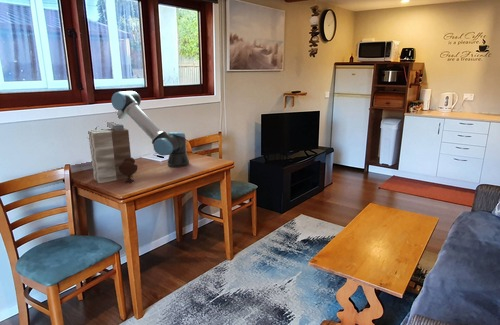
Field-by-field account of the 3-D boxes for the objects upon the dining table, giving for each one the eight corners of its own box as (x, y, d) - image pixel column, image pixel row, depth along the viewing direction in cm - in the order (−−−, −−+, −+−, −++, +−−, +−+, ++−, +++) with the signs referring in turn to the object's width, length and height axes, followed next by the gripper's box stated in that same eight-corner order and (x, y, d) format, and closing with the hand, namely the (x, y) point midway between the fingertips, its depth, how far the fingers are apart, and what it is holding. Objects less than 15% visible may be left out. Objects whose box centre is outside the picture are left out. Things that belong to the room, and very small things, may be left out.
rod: (105, 127, 219) (105, 122, 218) (113, 126, 222) (113, 121, 221) (115, 131, 204) (114, 126, 203) (123, 130, 207) (123, 125, 206)
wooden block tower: (94, 178, 213) (88, 130, 205) (126, 172, 225) (121, 127, 217) (99, 183, 204) (93, 133, 196) (132, 177, 216) (128, 129, 208)
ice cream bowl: (122, 179, 211) (119, 155, 207) (140, 178, 212) (138, 155, 208) (117, 184, 201) (114, 160, 197) (136, 184, 202) (134, 159, 198)
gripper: (121, 142, 246) (128, 131, 229) (83, 147, 231) (88, 135, 215) (118, 133, 247) (125, 121, 231) (81, 137, 233) (85, 124, 216)
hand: (107, 128), depth 223 cm, fingers open, 13 cm apart
